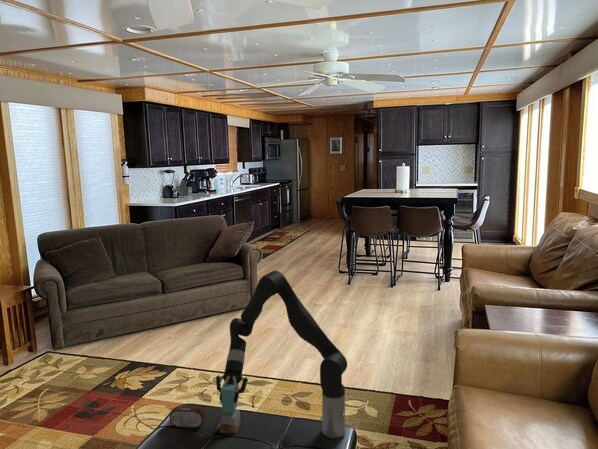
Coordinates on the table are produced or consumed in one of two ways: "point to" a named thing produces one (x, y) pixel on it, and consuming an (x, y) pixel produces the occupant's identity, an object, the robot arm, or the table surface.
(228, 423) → the tower top
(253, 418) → the table surface
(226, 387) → the block
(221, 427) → the tower base
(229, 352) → the robot arm
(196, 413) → the tin
